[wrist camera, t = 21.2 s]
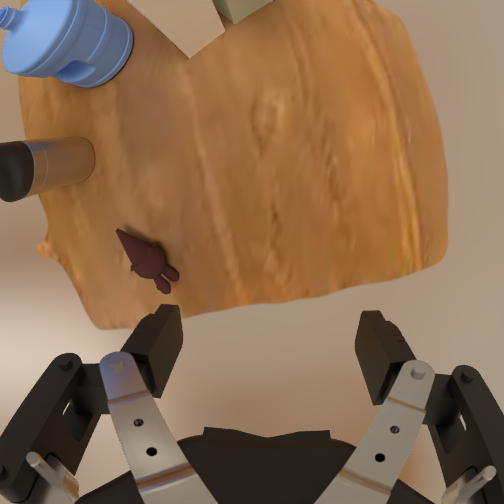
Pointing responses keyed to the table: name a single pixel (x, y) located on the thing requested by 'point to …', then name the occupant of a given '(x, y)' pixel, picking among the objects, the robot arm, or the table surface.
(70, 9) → the water jug
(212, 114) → the table surface
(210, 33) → the off-white stand
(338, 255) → the table surface
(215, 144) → the table surface
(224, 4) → the sage step
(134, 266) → the icecream
